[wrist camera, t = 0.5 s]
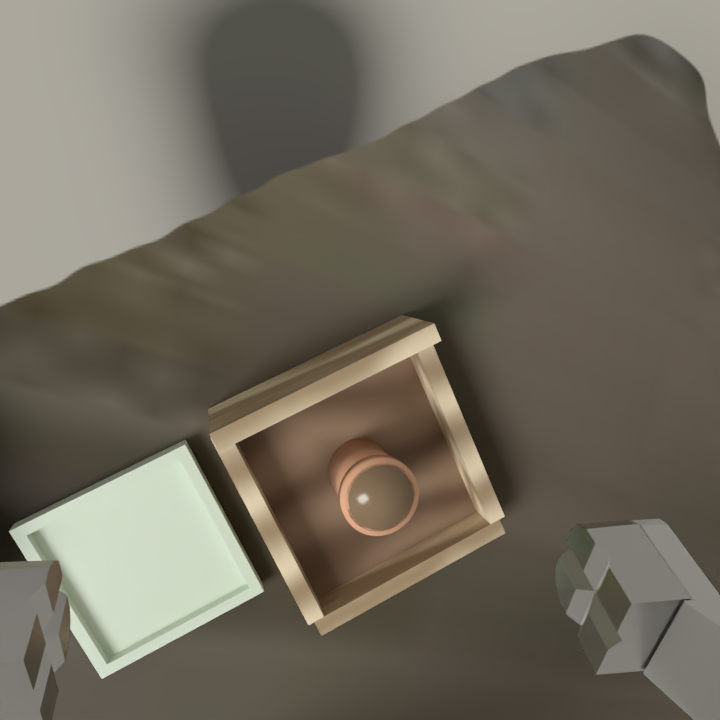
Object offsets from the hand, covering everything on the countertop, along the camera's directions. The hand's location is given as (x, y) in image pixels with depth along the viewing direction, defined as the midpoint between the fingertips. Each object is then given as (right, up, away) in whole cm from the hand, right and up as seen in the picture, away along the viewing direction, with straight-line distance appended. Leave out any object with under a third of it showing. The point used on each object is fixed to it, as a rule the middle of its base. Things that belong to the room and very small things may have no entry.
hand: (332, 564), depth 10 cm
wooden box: (0, -7, +53) cm, 53 cm away
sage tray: (-19, -14, +49) cm, 55 cm away
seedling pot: (0, -7, +52) cm, 53 cm away
